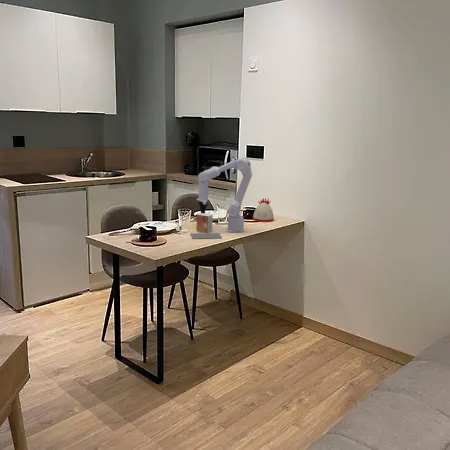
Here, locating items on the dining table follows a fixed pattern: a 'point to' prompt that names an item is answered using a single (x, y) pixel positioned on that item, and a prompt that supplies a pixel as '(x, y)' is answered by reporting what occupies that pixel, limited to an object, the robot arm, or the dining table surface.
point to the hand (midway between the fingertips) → (202, 213)
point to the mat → (206, 236)
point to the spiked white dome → (263, 212)
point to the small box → (204, 222)
